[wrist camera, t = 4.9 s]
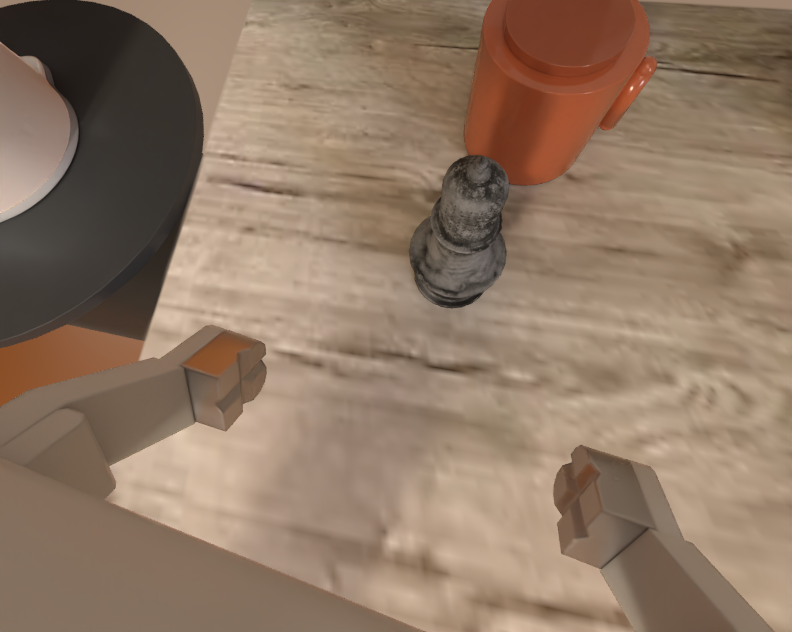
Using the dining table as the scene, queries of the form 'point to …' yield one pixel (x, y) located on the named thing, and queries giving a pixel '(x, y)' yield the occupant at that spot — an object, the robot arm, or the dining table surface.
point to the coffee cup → (553, 81)
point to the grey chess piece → (462, 234)
